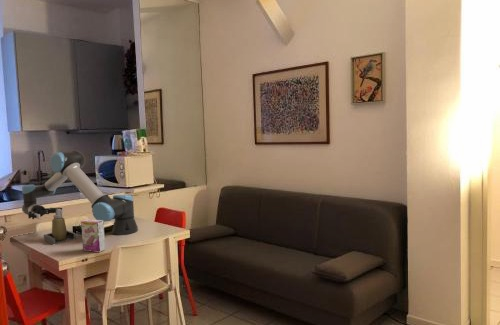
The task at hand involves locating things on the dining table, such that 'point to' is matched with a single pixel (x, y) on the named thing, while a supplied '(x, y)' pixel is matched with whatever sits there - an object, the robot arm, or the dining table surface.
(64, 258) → the dining table surface
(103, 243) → the candy bar box
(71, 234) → the dark grey tray
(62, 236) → the squeeze bottle
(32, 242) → the dining table surface
